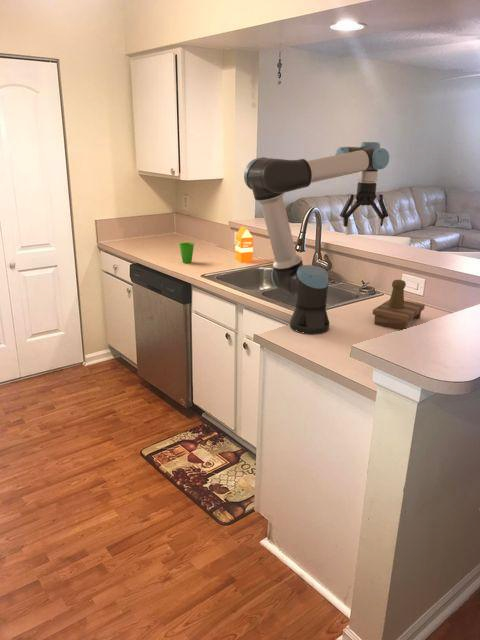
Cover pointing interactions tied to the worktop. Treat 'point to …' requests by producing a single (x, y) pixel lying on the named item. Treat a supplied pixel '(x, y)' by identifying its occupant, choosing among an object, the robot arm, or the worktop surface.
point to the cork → (397, 294)
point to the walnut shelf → (397, 314)
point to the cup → (186, 251)
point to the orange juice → (244, 245)
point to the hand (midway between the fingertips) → (362, 234)
